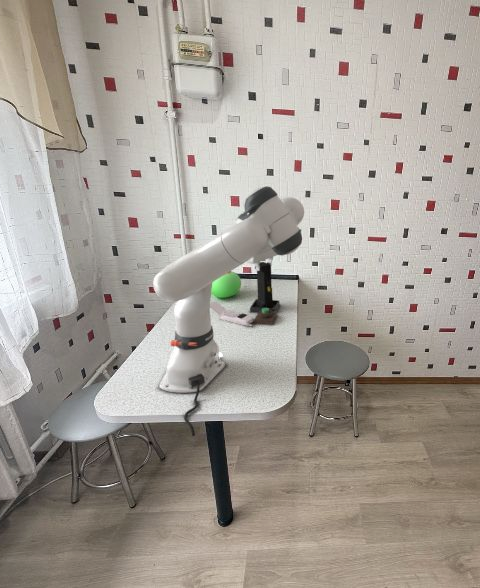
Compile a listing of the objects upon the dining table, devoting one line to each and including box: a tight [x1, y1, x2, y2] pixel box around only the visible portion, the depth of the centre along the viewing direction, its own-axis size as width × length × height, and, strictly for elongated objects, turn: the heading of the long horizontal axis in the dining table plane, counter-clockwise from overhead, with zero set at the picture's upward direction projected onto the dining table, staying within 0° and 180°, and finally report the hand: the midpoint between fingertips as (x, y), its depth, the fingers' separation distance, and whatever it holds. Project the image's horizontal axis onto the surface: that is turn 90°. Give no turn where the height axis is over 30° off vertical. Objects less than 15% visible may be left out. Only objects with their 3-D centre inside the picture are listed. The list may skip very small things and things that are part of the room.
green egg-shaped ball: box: [211, 270, 242, 299], centre depth 174 cm, size 18×17×15 cm
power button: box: [262, 308, 269, 314], centre depth 152 cm, size 3×3×2 cm
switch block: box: [253, 310, 277, 326], centre depth 153 cm, size 10×8×4 cm
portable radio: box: [254, 261, 274, 308], centre depth 160 cm, size 8×6×25 cm
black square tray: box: [249, 298, 280, 314], centre depth 164 cm, size 11×12×3 cm
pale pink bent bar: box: [210, 300, 255, 327], centre depth 151 cm, size 6×6×25 cm
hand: (264, 268), depth 157 cm, fingers open, 7 cm apart
